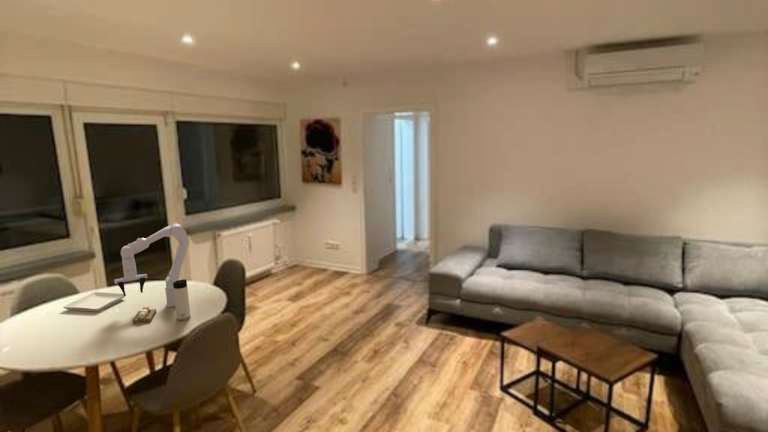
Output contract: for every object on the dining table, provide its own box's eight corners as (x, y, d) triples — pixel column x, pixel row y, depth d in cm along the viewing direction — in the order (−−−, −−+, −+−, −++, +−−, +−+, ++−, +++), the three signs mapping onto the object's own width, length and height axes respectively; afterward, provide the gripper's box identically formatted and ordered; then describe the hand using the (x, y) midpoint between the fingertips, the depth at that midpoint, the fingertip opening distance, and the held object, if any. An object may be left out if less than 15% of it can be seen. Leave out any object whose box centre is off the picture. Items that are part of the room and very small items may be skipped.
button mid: (148, 314, 218) (147, 308, 217) (147, 316, 215) (146, 311, 214) (142, 315, 217) (141, 309, 216) (140, 317, 214) (139, 312, 214)
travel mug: (185, 321, 212) (181, 282, 208) (174, 320, 213) (169, 282, 210) (193, 316, 218) (189, 278, 214) (182, 315, 219) (178, 277, 216)
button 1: (146, 317, 214) (146, 311, 214) (145, 319, 211) (144, 314, 211) (140, 318, 213) (139, 312, 213) (138, 320, 210) (137, 315, 210)
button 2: (150, 311, 221) (149, 306, 221) (149, 313, 218) (148, 308, 218) (143, 312, 220) (143, 306, 220) (142, 314, 218) (141, 309, 217)
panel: (156, 312, 223) (155, 309, 223) (150, 322, 212) (150, 318, 211) (139, 314, 221) (138, 310, 220) (132, 324, 209) (132, 320, 209)
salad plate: (98, 314, 223) (97, 308, 222) (62, 312, 226) (61, 306, 225) (128, 299, 243) (127, 293, 242) (95, 297, 246) (94, 291, 246)
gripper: (144, 264, 228) (147, 288, 231) (112, 270, 220) (116, 295, 222) (146, 267, 223) (149, 292, 226) (114, 273, 214) (117, 299, 217)
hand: (133, 293), depth 224 cm, fingers open, 7 cm apart
